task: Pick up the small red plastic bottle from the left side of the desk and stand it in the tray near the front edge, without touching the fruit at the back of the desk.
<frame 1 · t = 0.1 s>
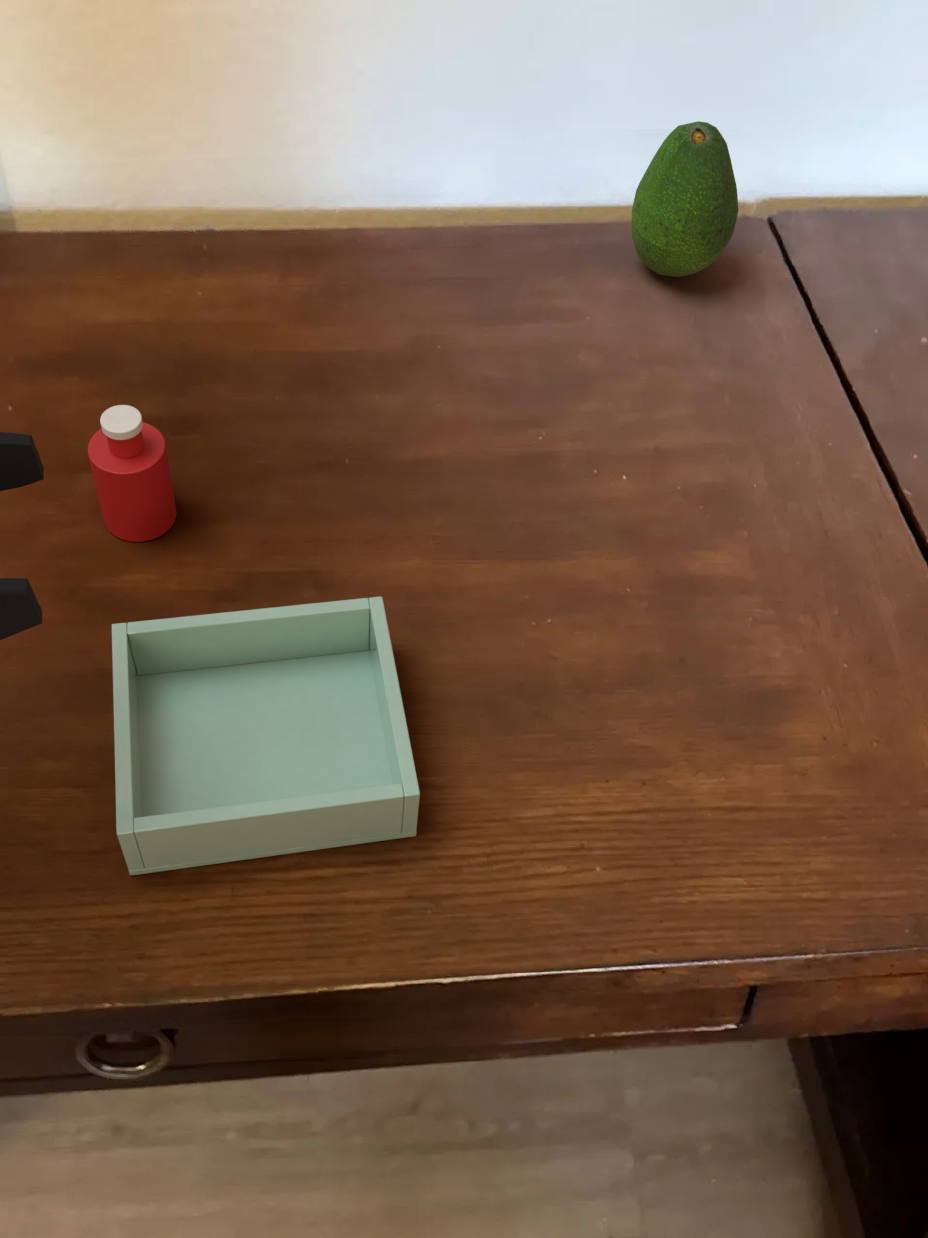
hand: (36, 525, 48), 20 cm above the table, tool horizontal, fingers open, 7 cm apart
fruit: (669, 270, 95), on the table
tray: (264, 750, 66), on the table
bottle: (140, 515, 75), on the table
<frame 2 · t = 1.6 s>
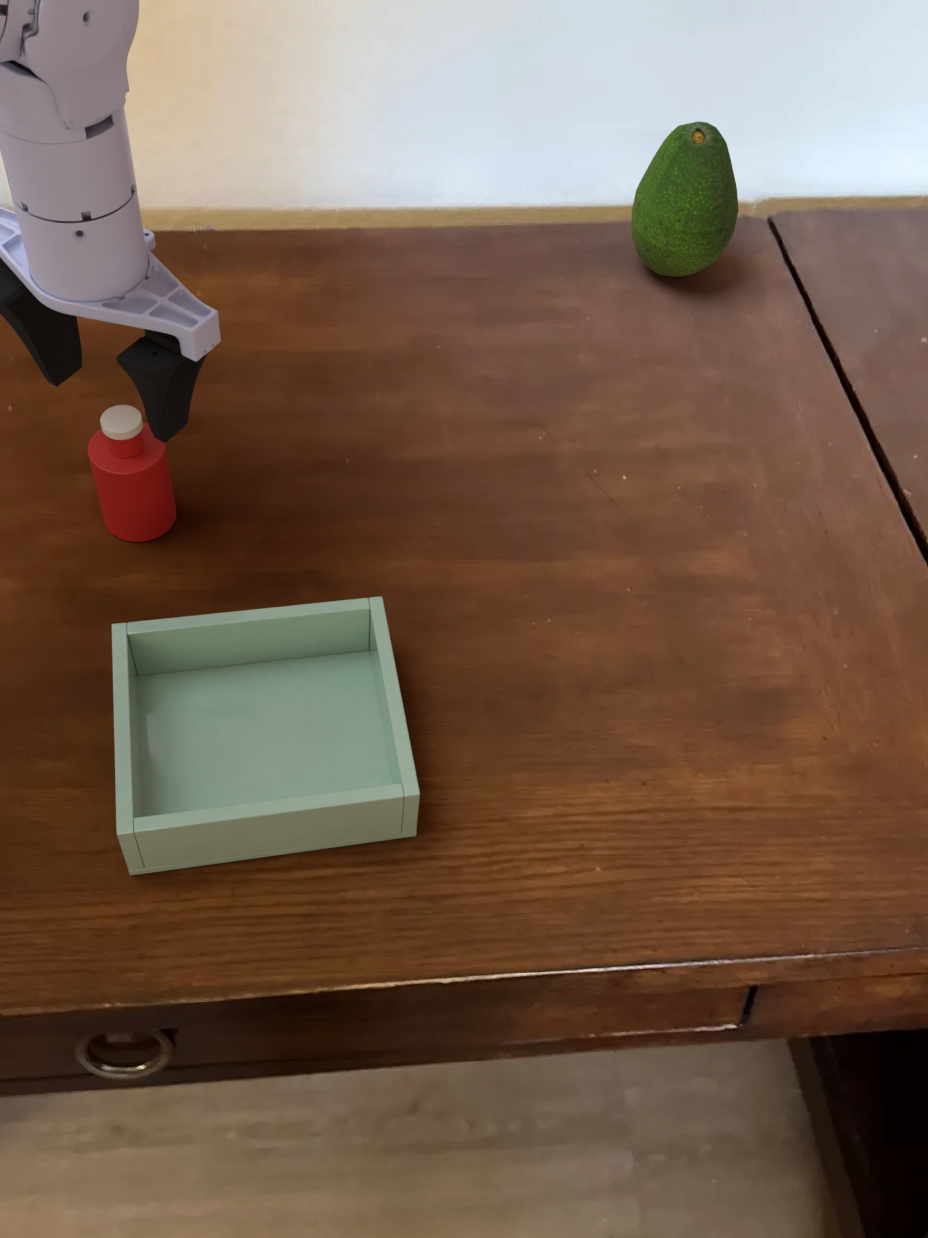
hand: (117, 402, 68), 9 cm above the table, tool pointing down, fingers open, 7 cm apart
nothing on the table moved.
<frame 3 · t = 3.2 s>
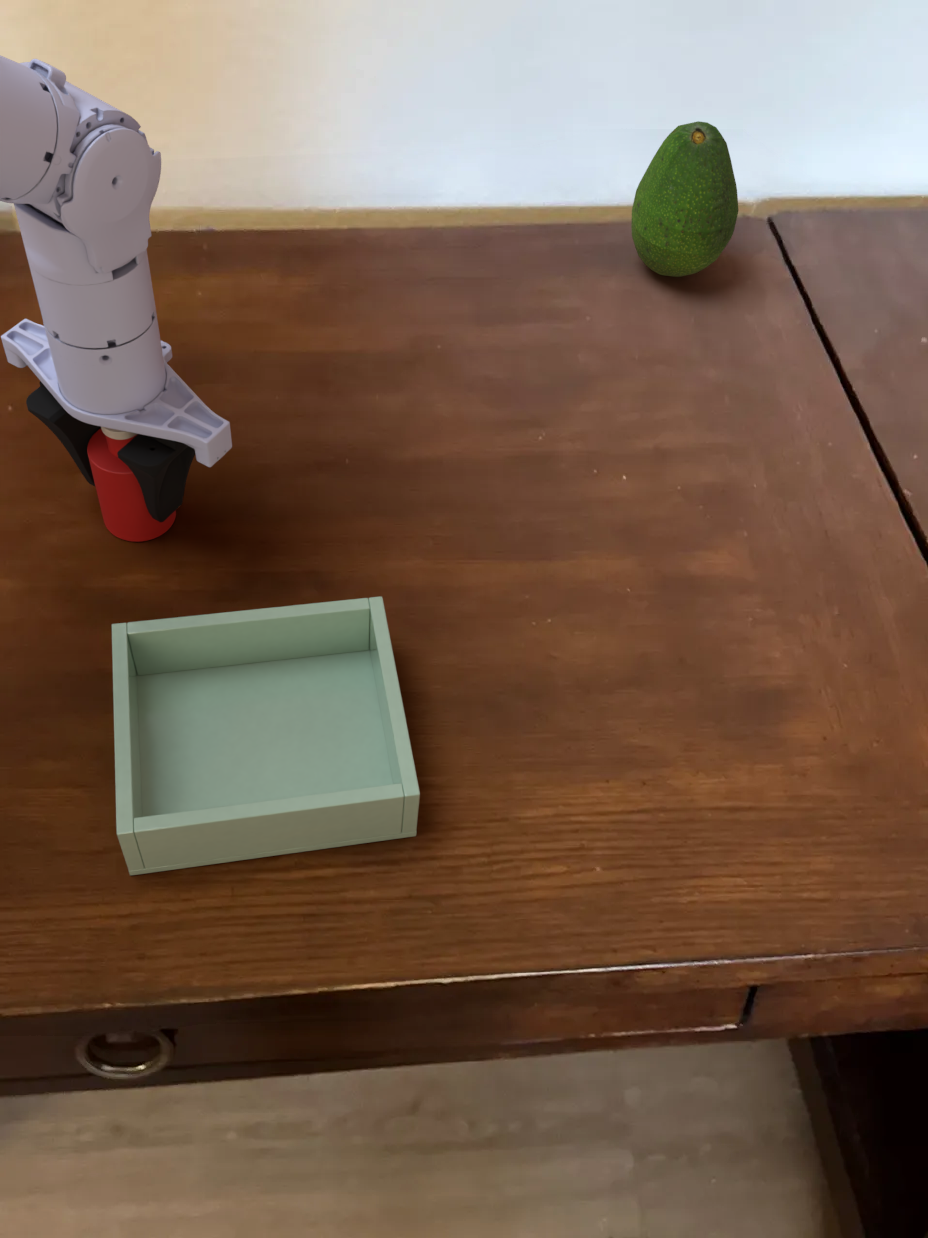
hand: (136, 493, 74), 2 cm above the table, tool pointing down, fingers closed on bottle, 4 cm apart
bottle: (140, 515, 75), on the table, touching gripper
everything else where it was.
when the fingers open (2 cm above the table, at t = 9.1 s): bottle stays where it is, resting on tray.
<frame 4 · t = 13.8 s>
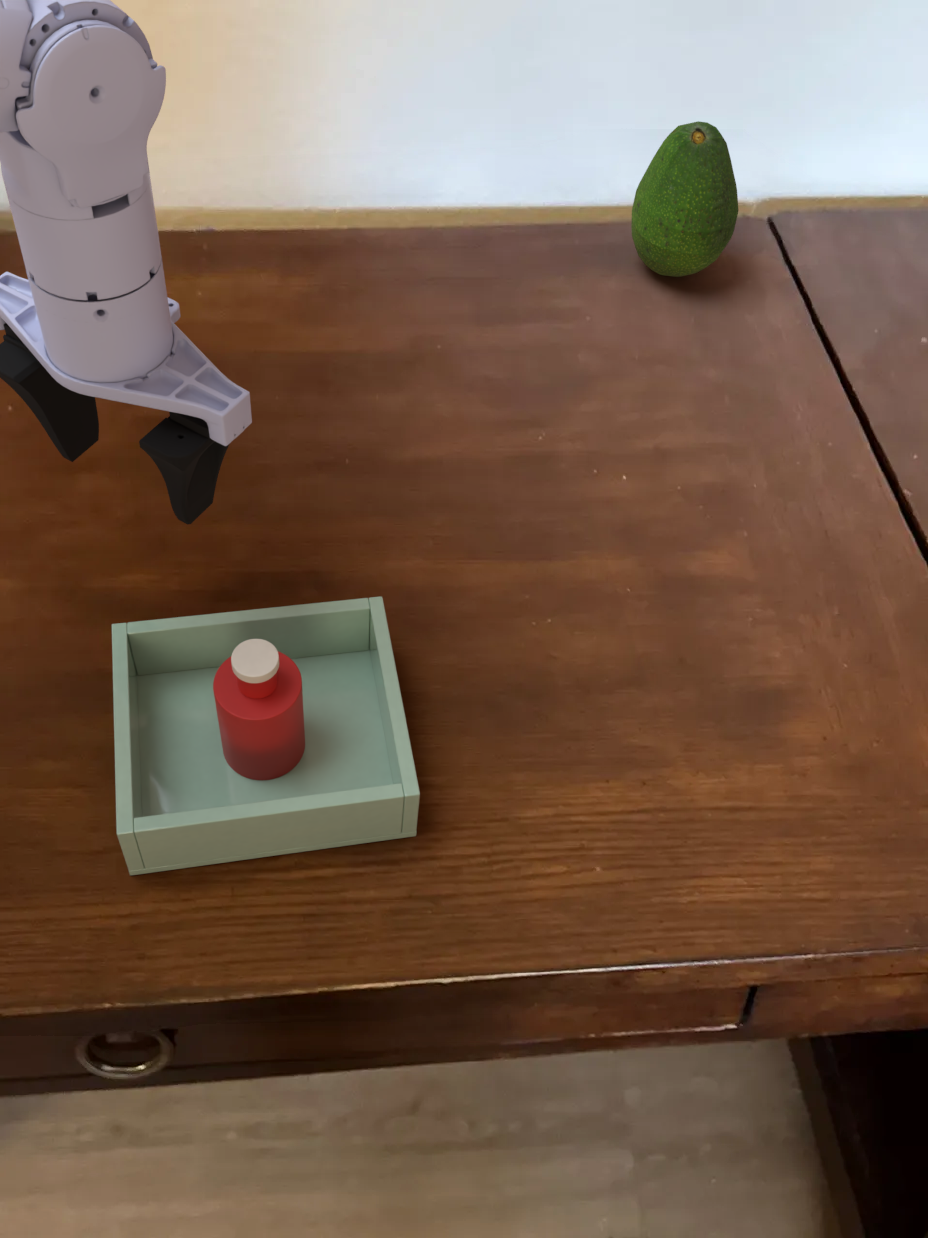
hand: (137, 479, 63), 10 cm above the table, tool pointing down, fingers open, 7 cm apart
bottle: (264, 745, 65), resting on tray
everything else where it was.
at the end: bottle inside the target area in the tray (0.1 cm from its centre), point 0.5 cm above the tray's base; bottle tilted 0°; bottle touching tray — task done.
